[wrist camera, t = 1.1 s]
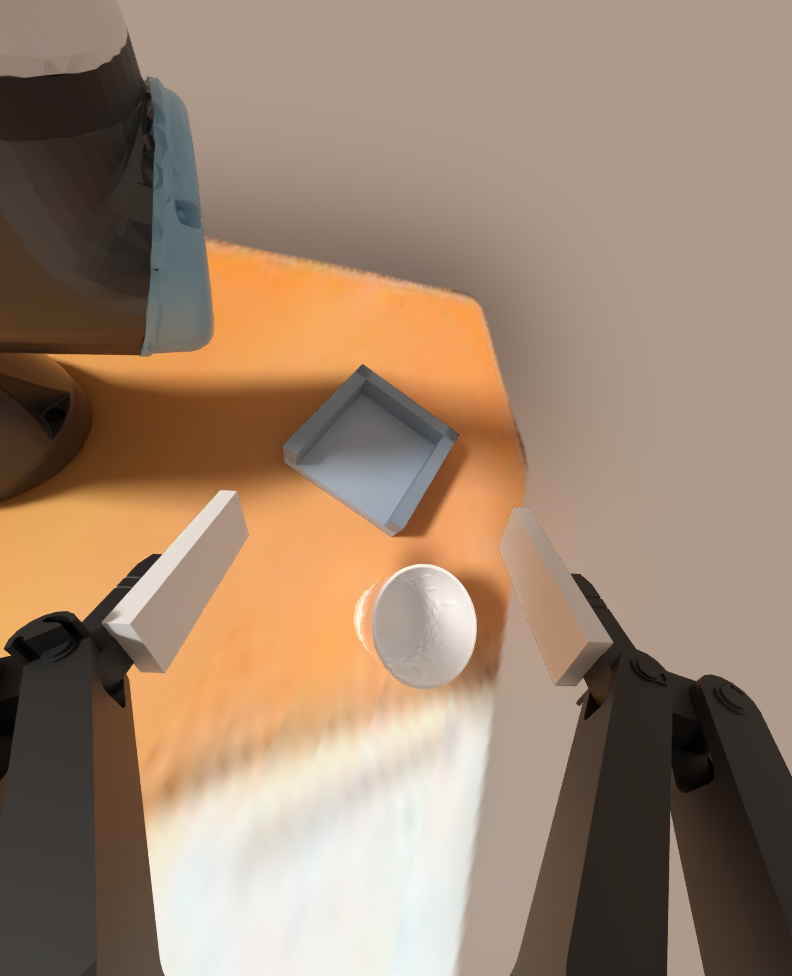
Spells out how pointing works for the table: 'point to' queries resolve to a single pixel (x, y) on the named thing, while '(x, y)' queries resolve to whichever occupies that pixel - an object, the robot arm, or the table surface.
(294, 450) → the dock
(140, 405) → the table surface
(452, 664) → the white cup
